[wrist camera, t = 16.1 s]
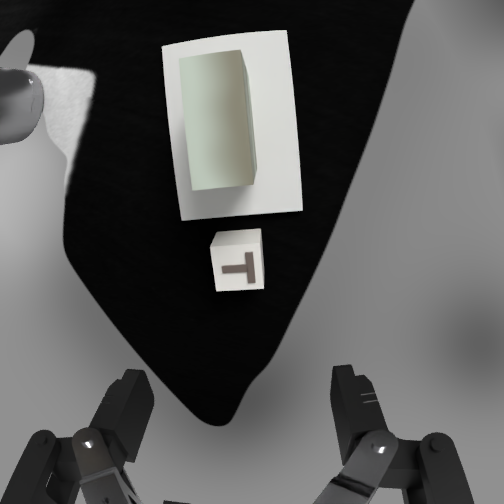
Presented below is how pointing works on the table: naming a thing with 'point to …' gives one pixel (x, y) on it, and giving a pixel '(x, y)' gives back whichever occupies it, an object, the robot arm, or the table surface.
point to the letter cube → (238, 260)
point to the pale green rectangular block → (218, 120)
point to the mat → (264, 121)
